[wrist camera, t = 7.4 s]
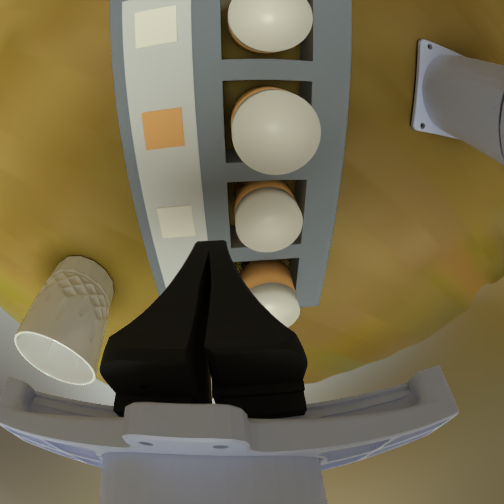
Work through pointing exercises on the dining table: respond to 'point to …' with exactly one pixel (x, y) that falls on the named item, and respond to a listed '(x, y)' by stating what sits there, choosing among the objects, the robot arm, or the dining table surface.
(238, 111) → the button
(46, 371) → the white cup
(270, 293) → the button
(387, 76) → the dining table surface
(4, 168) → the dining table surface
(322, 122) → the board
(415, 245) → the dining table surface
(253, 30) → the button
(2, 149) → the dining table surface
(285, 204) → the button
